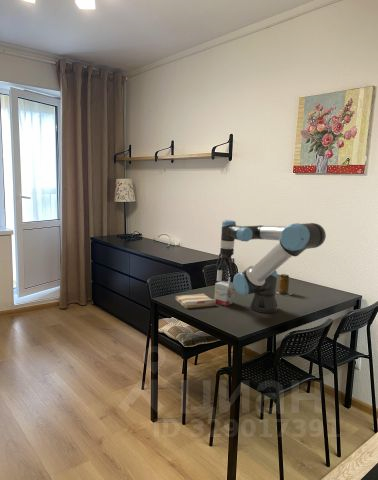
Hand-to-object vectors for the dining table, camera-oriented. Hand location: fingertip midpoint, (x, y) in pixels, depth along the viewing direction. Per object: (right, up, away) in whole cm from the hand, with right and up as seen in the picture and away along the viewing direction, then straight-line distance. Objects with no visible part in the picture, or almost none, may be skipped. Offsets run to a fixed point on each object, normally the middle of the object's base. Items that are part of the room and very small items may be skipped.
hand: (224, 284), depth 212 cm
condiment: (+41, -9, +25) cm, 49 cm away
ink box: (0, -11, +1) cm, 11 cm away
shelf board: (-17, -10, 0) cm, 20 cm away
